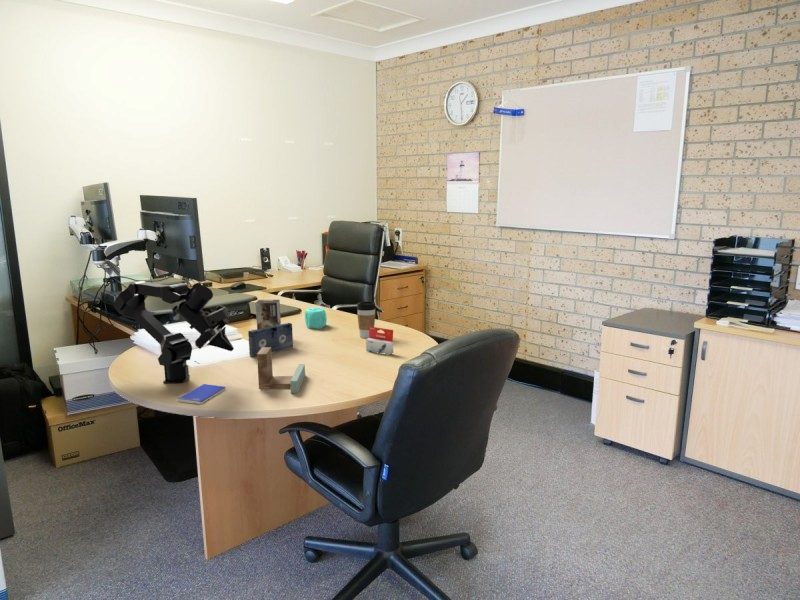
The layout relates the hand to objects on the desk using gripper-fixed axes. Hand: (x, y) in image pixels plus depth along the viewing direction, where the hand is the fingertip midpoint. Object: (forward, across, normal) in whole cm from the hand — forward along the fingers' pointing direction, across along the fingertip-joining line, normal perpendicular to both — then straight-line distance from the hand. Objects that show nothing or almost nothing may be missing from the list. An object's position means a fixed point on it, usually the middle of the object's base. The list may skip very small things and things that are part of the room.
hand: (232, 349), depth 173 cm
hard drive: (+3, -9, +14) cm, 17 cm away
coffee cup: (+38, +55, -21) cm, 70 cm away
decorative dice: (+21, +72, -4) cm, 76 cm away
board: (+23, -1, -6) cm, 24 cm away
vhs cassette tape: (+12, +35, +5) cm, 37 cm away
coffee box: (+9, +54, +8) cm, 55 cm away
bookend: (+18, 0, -2) cm, 18 cm away
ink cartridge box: (+42, +32, -25) cm, 58 cm away
